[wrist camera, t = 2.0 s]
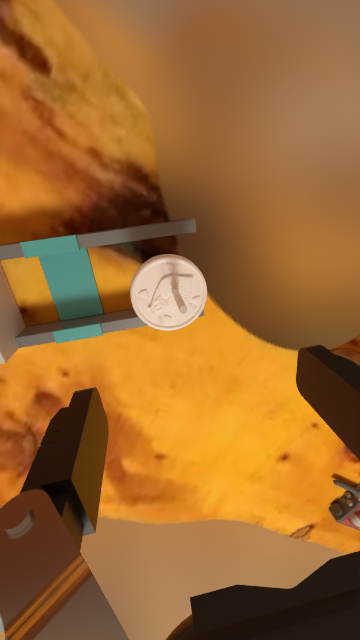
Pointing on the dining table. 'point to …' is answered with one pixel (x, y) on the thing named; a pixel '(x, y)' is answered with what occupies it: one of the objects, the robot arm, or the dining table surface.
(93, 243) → the guide channel
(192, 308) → the smoothie
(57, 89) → the dining table surface
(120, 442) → the dining table surface
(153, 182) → the dining table surface
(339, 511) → the walkie-talkie
